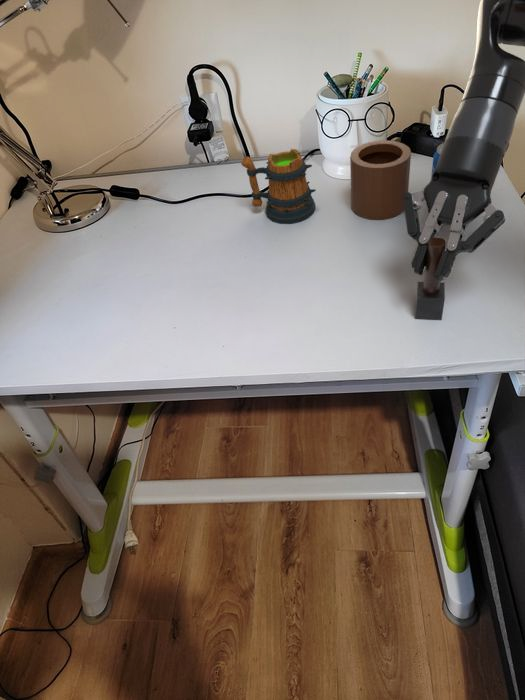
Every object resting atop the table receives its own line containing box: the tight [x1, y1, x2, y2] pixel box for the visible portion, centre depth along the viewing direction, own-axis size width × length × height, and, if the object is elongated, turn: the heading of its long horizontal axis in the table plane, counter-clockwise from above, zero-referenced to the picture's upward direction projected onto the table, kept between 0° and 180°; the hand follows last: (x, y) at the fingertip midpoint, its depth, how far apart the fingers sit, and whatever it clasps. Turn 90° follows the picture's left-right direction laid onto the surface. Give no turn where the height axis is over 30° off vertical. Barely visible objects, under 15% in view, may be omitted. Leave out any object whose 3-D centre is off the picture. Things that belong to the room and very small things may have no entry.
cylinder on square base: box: [414, 236, 447, 321], centre depth 69 cm, size 4×4×12 cm
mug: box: [240, 148, 317, 225], centre depth 94 cm, size 13×10×12 cm
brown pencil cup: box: [349, 139, 412, 221], centre depth 91 cm, size 10×10×10 cm
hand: (427, 276), depth 67 cm, fingers closed on cylinder on square base, 2 cm apart
